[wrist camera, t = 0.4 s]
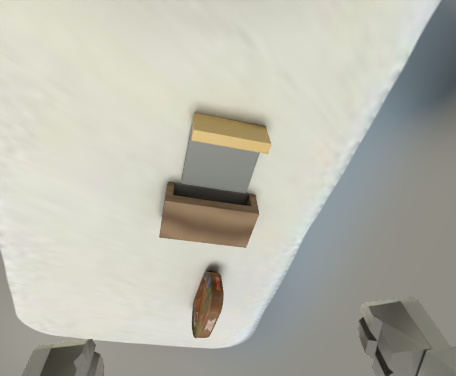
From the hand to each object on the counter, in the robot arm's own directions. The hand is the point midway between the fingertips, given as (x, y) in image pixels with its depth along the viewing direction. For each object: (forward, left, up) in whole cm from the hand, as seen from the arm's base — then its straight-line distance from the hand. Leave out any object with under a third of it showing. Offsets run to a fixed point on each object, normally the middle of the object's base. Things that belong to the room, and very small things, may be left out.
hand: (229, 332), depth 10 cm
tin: (+47, +9, -36) cm, 60 cm away
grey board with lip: (+15, +5, -36) cm, 40 cm away
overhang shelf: (+26, +5, -36) cm, 44 cm away
